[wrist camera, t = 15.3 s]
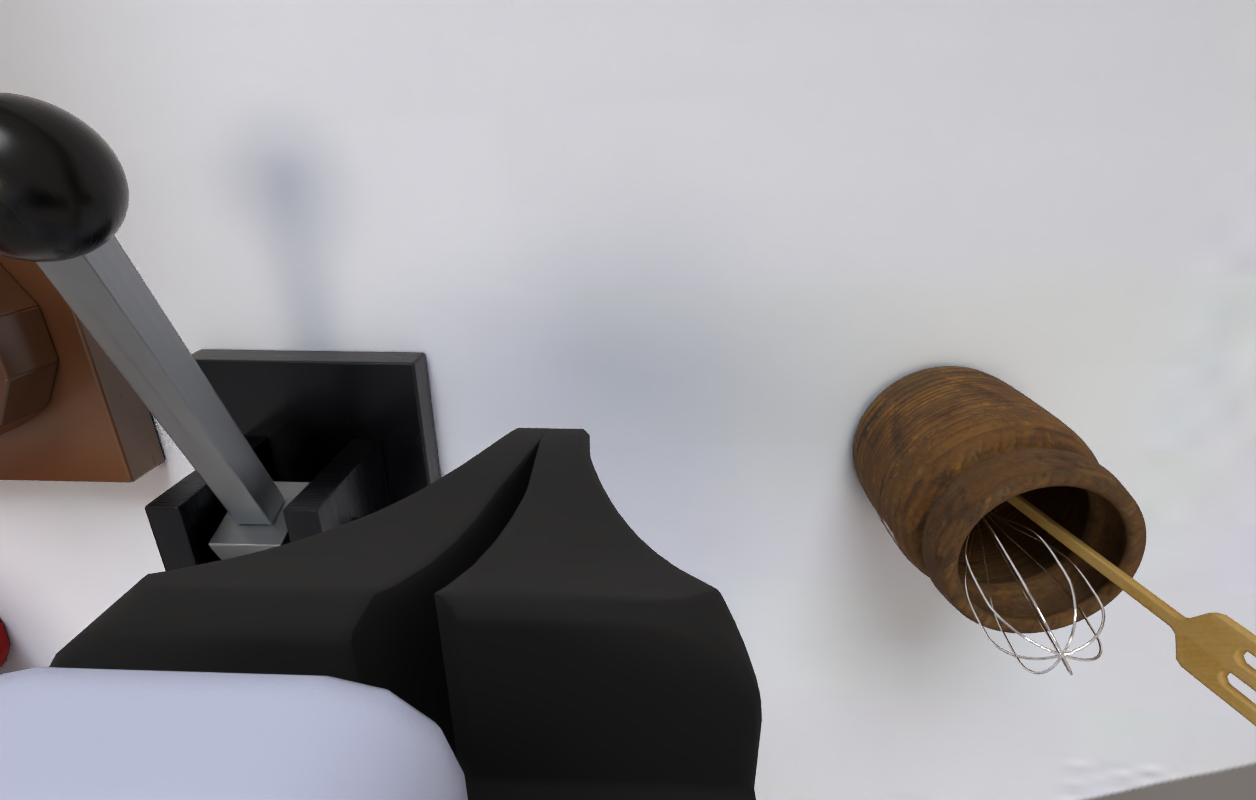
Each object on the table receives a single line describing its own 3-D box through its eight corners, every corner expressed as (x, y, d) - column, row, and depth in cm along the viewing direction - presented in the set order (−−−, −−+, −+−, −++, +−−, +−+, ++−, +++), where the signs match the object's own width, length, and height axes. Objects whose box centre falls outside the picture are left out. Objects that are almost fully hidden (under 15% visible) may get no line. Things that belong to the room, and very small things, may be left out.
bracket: (200, 348, 22) (58, 415, 17) (425, 351, 22) (353, 420, 17) (262, 581, 26) (161, 695, 21) (454, 585, 26) (403, 702, 21)
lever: (-47, 68, 12) (-200, 132, 10) (107, 68, 12) (-13, 132, 10) (271, 522, 22) (231, 600, 20) (355, 524, 22) (323, 603, 20)
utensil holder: (882, 341, 21) (1129, 563, 10) (1058, 383, 22) (1484, 640, 11) (822, 490, 24) (973, 804, 12) (983, 525, 24) (1268, 861, 13)
